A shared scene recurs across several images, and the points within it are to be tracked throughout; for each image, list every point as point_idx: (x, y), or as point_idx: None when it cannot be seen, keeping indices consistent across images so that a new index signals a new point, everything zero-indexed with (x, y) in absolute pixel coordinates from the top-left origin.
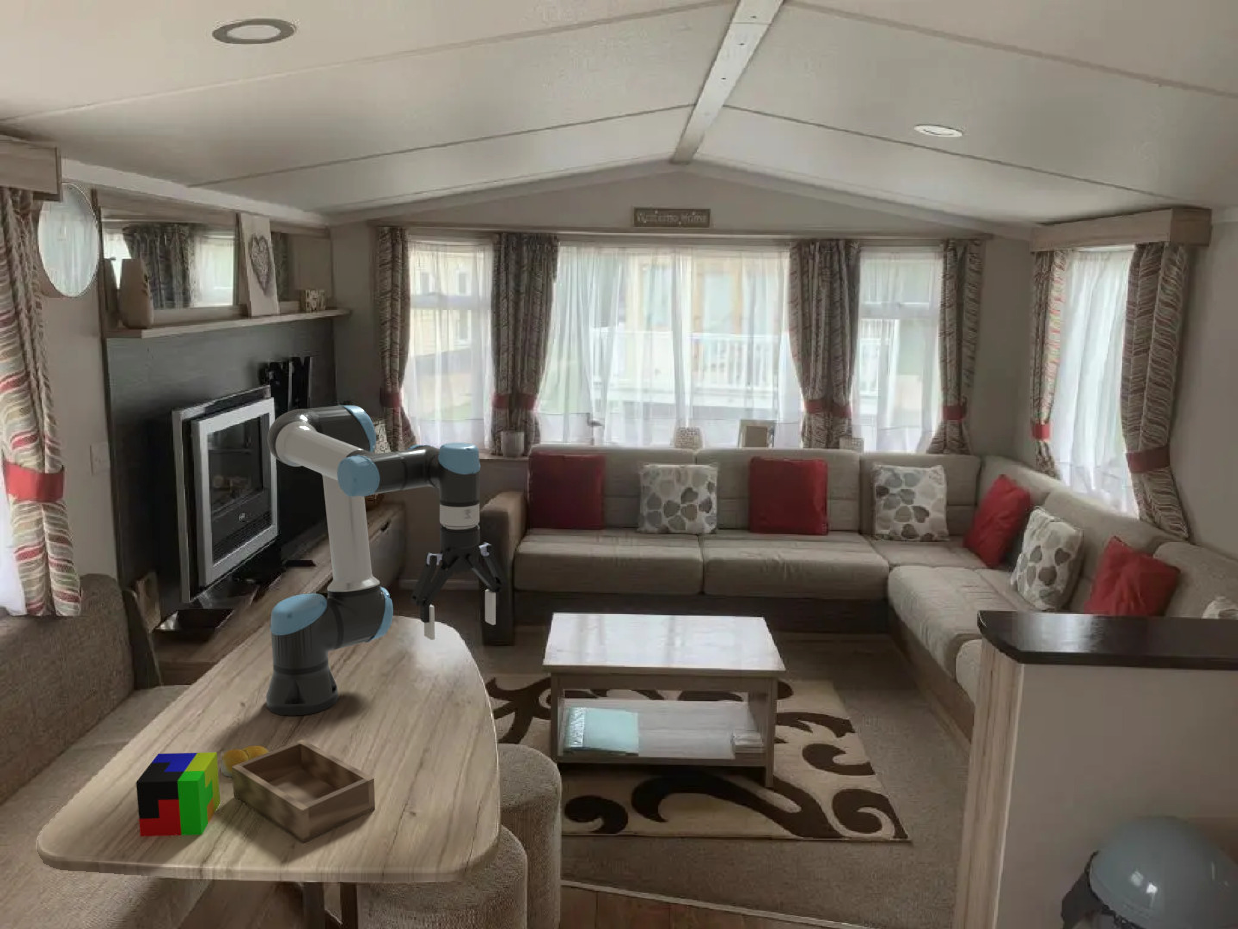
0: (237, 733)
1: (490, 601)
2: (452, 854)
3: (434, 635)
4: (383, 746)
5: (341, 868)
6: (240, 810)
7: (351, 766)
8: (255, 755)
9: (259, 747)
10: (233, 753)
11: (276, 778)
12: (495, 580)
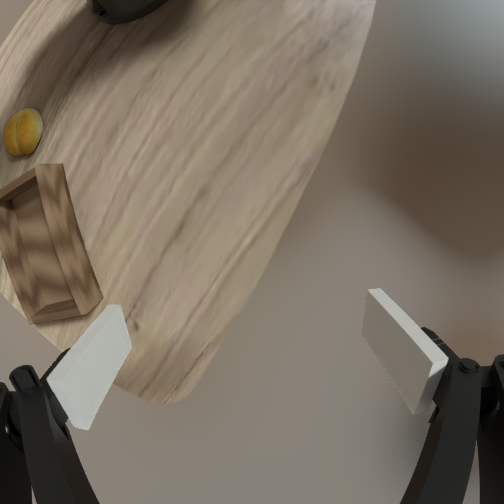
0: (48, 49)
1: (400, 375)
2: (152, 394)
3: (127, 354)
4: (156, 150)
5: None
6: None
7: (69, 272)
8: (20, 143)
9: (24, 128)
10: (5, 137)
11: (34, 185)
12: (497, 379)
